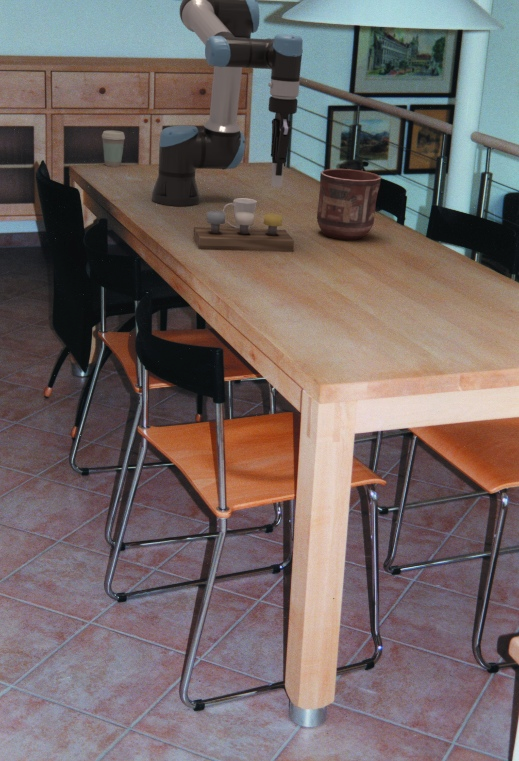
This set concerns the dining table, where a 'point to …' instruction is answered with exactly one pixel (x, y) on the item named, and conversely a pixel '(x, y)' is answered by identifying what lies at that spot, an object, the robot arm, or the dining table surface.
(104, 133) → the coffee cup
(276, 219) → the mustard button
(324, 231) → the pottery
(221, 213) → the slate button
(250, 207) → the cup
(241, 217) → the cream button
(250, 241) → the panel
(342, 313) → the dining table surface
